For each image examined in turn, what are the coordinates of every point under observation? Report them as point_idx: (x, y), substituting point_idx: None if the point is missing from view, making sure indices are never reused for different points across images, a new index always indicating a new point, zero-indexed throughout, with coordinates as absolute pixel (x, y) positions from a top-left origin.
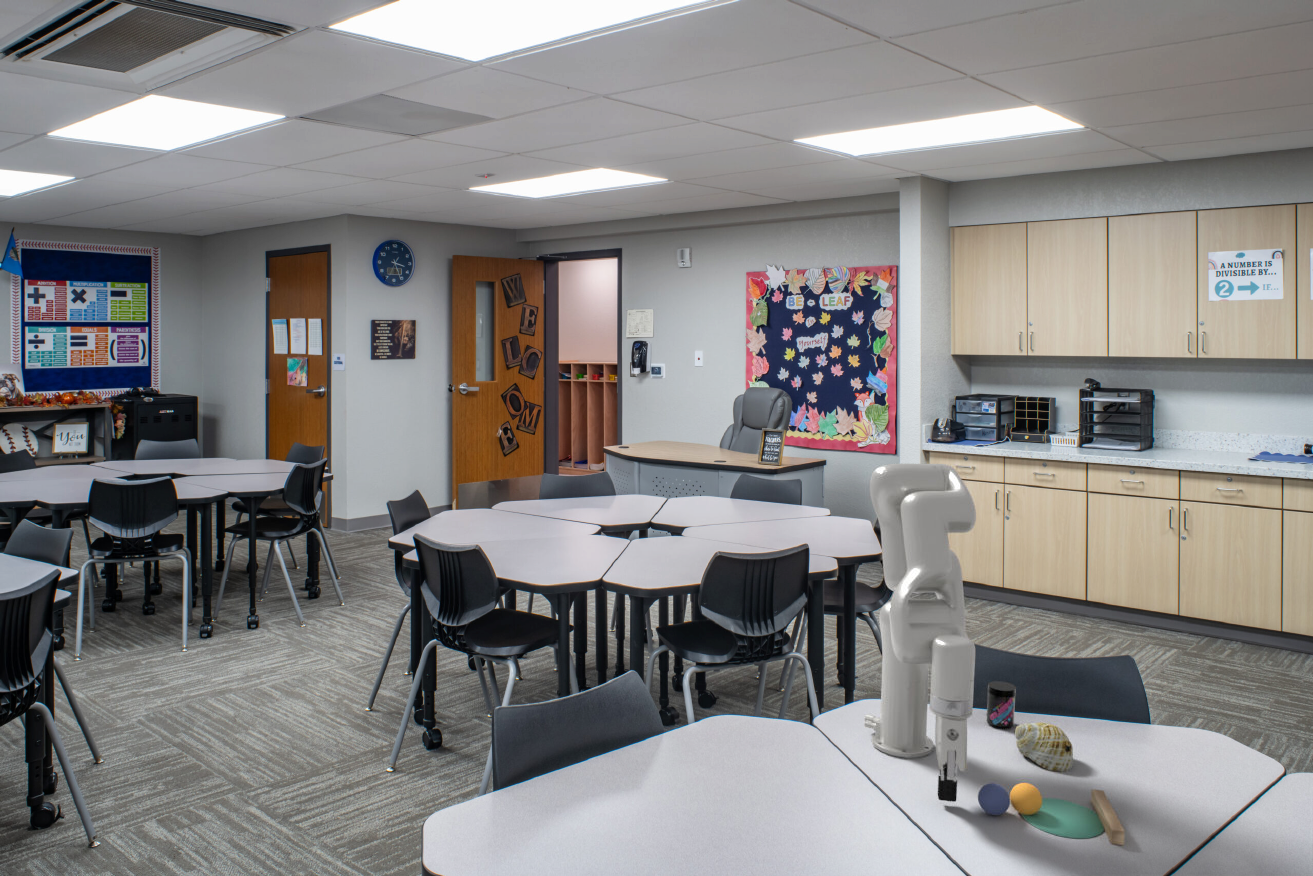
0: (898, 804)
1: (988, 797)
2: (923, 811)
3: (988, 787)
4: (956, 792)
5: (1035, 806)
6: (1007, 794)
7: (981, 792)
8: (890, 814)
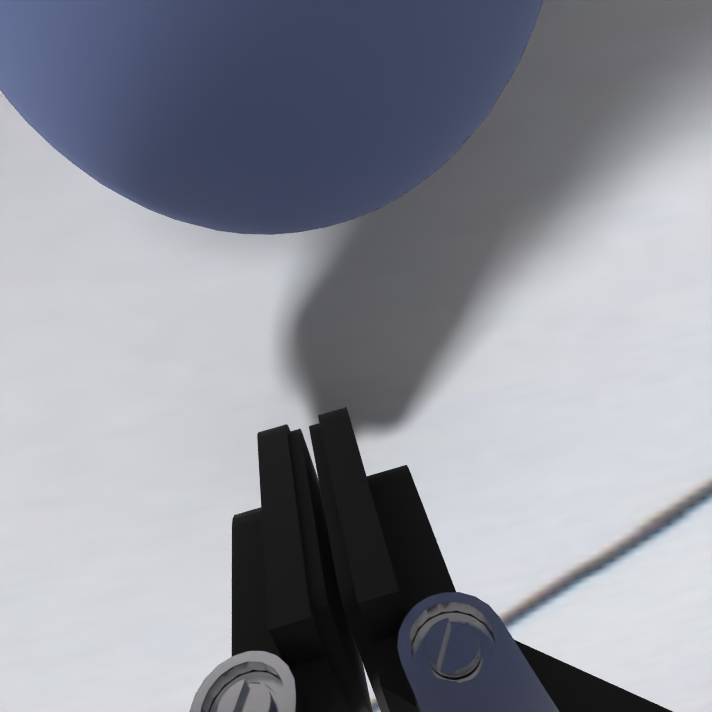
0: None
1: (529, 33)
2: (483, 530)
3: (412, 70)
4: (364, 470)
5: None
6: None
7: (398, 191)
8: (582, 638)
